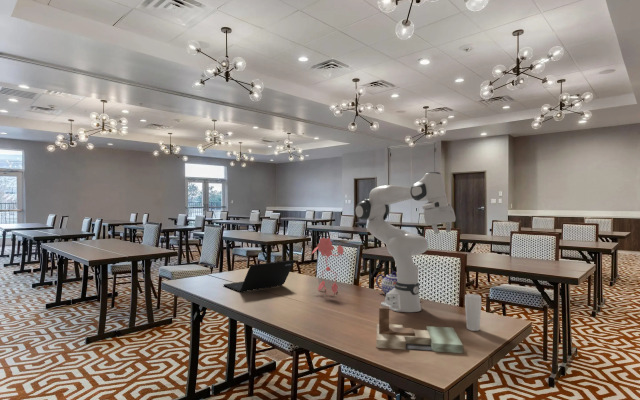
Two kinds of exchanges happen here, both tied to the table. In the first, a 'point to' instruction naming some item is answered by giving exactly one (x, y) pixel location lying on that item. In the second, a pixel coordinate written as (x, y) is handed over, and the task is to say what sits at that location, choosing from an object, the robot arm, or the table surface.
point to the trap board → (422, 340)
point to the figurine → (326, 250)
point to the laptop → (264, 276)
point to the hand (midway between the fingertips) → (443, 232)
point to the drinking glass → (473, 311)
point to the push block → (384, 324)
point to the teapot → (387, 282)
